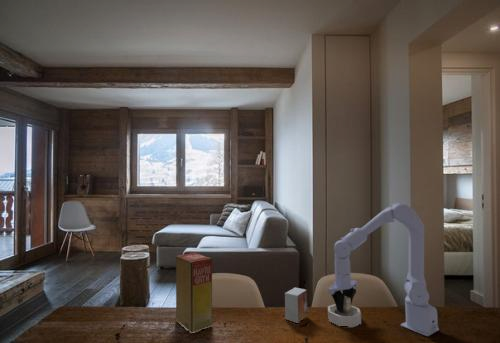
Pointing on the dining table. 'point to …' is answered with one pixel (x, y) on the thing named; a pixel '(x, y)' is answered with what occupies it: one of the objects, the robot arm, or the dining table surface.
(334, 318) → the bowl
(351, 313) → the clip
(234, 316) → the dining table surface
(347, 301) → the wood grain plank
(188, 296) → the food packaging
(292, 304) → the small box
